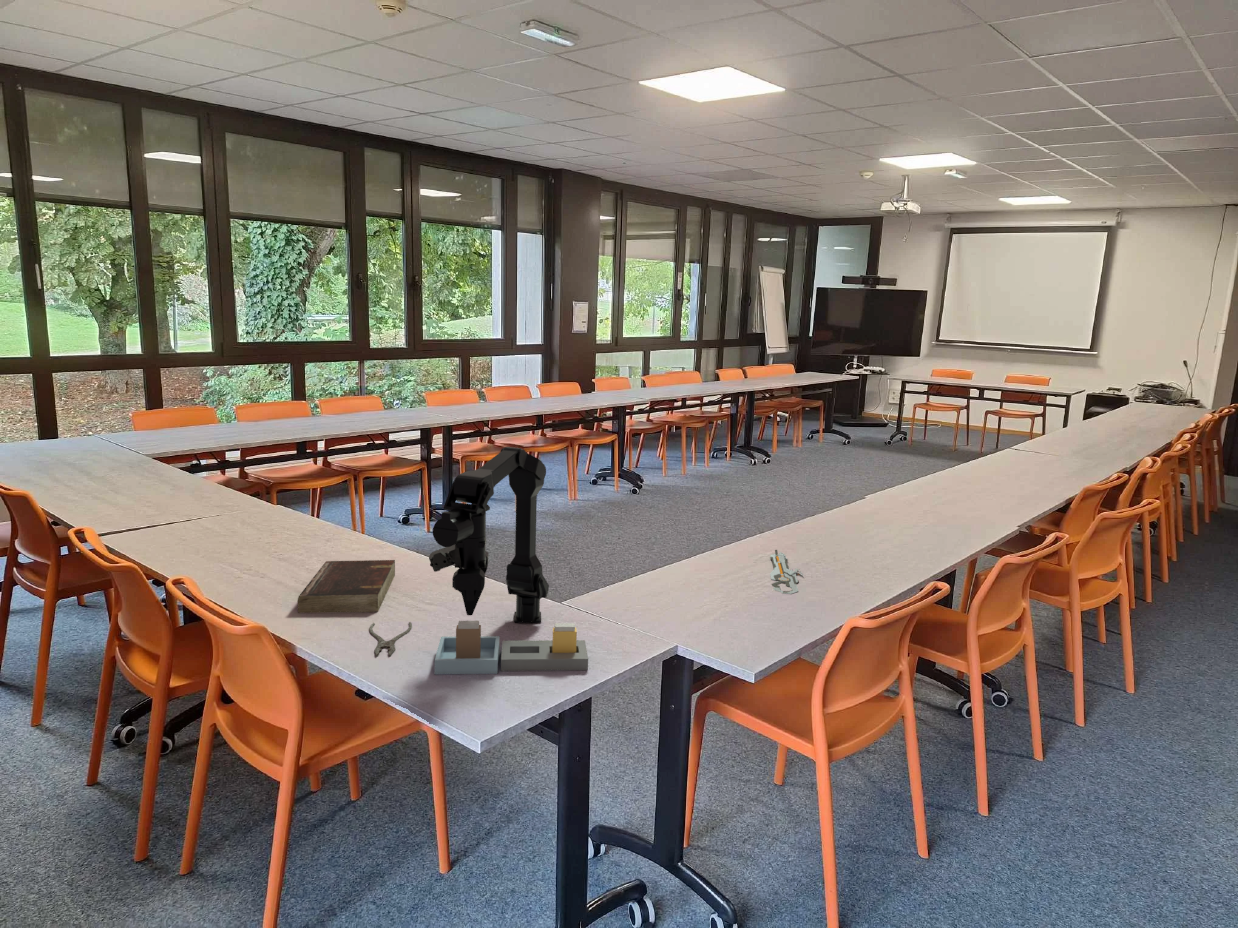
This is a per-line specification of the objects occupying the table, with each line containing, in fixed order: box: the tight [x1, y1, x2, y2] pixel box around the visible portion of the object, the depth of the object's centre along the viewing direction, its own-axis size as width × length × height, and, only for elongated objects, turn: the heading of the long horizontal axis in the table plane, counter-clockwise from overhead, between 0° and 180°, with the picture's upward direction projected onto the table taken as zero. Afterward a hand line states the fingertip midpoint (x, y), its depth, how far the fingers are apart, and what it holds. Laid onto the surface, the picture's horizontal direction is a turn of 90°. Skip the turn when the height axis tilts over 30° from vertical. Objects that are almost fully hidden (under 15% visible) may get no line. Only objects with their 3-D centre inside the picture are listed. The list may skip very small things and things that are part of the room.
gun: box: [769, 549, 804, 595], centre depth 242 cm, size 39×2×10 cm
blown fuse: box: [455, 620, 482, 659], centre depth 170 cm, size 2×5×8 cm, turn 96°
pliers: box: [368, 621, 413, 658], centre depth 181 cm, size 10×1×20 cm
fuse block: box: [500, 639, 589, 672], centre depth 172 cm, size 10×18×2 cm, turn 96°
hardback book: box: [296, 559, 396, 614], centre depth 209 cm, size 29×19×5 cm, turn 7°
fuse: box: [552, 622, 578, 653], centre depth 172 cm, size 2×5×8 cm, turn 96°
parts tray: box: [434, 635, 501, 675], centre depth 170 cm, size 13×13×3 cm
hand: (471, 607), depth 169 cm, fingers open, 9 cm apart
